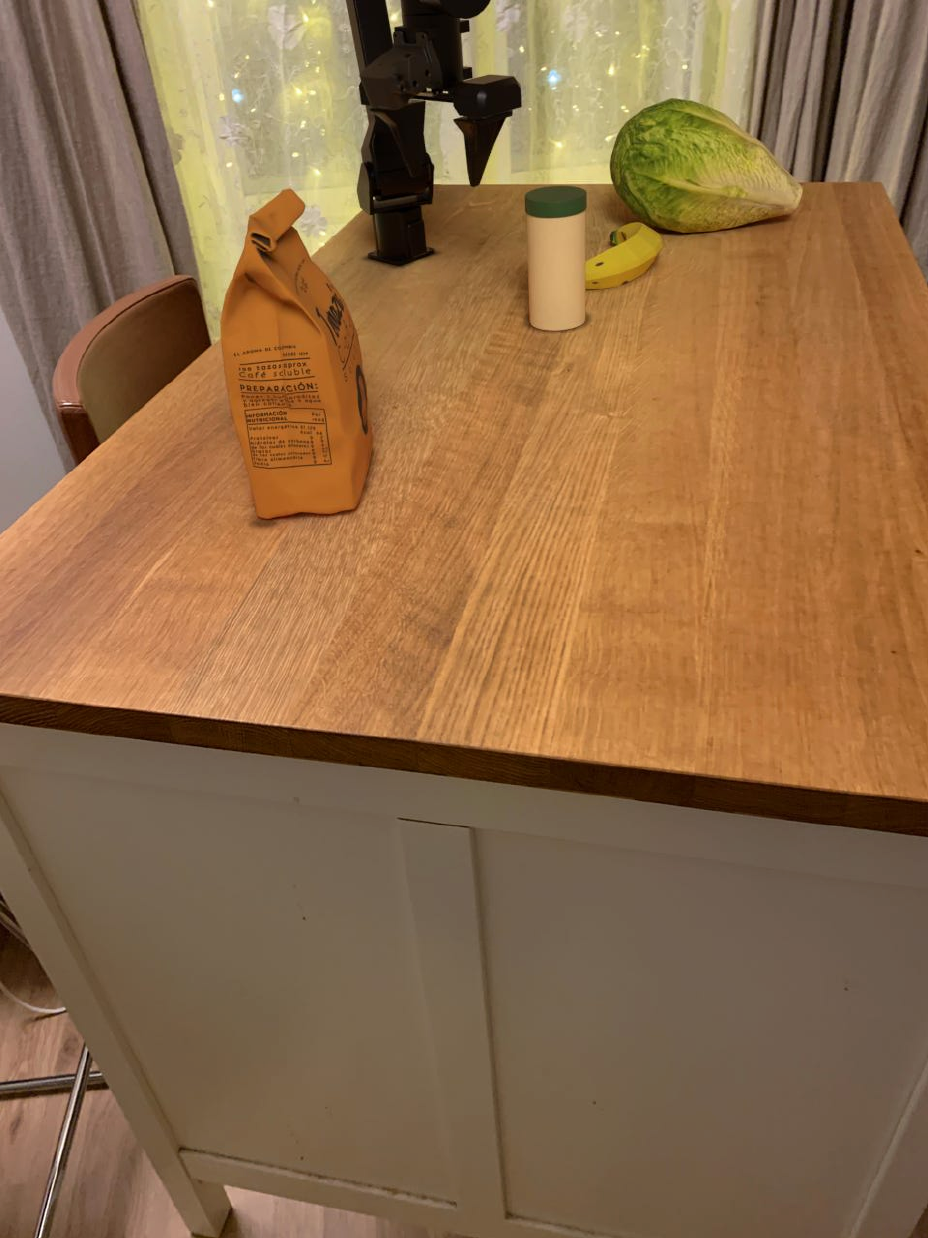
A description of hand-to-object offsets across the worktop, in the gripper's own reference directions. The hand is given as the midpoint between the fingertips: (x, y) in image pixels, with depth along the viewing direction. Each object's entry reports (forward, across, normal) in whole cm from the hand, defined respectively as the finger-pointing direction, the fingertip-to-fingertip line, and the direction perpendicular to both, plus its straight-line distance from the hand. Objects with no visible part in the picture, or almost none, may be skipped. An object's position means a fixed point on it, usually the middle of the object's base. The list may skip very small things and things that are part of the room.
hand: (444, 180), depth 105 cm
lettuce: (+13, +8, +38) cm, 41 cm away
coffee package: (+13, +22, -37) cm, 45 cm away
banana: (+13, +7, +18) cm, 23 cm away
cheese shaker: (+13, +14, +2) cm, 19 cm away
